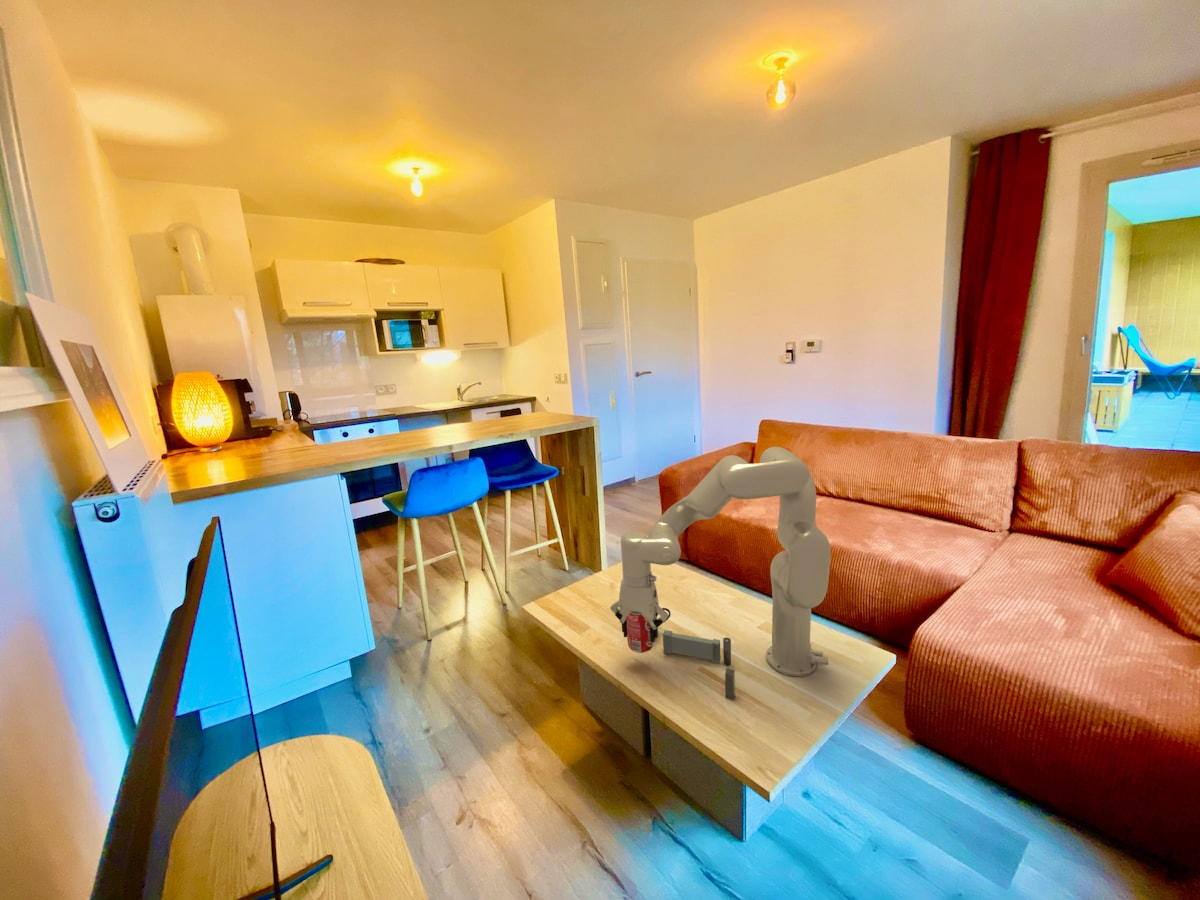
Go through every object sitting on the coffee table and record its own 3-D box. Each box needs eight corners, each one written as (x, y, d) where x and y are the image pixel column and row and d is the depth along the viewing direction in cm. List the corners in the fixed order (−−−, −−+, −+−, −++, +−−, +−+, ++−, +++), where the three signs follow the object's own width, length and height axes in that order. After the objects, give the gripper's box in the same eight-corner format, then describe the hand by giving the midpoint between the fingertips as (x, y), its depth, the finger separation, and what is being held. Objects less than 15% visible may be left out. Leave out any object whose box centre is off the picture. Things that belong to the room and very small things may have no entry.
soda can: (651, 638, 133) (649, 600, 130) (655, 654, 126) (653, 614, 123) (626, 640, 132) (624, 602, 130) (629, 656, 125) (626, 616, 123)
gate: (720, 658, 131) (720, 639, 129) (719, 663, 129) (718, 644, 127) (665, 648, 137) (664, 629, 135) (663, 652, 135) (662, 634, 133)
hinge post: (731, 662, 130) (731, 638, 128) (730, 666, 128) (730, 642, 126) (724, 660, 130) (723, 636, 129) (723, 665, 129) (722, 641, 127)
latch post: (734, 694, 118) (734, 670, 116) (733, 699, 116) (733, 675, 115) (726, 692, 119) (726, 668, 117) (725, 698, 117) (725, 673, 115)
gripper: (672, 575, 124) (674, 634, 128) (611, 567, 131) (615, 623, 135) (665, 589, 118) (667, 651, 122) (601, 580, 124) (605, 639, 128)
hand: (640, 636), depth 128 cm, fingers closed on soda can, 7 cm apart
